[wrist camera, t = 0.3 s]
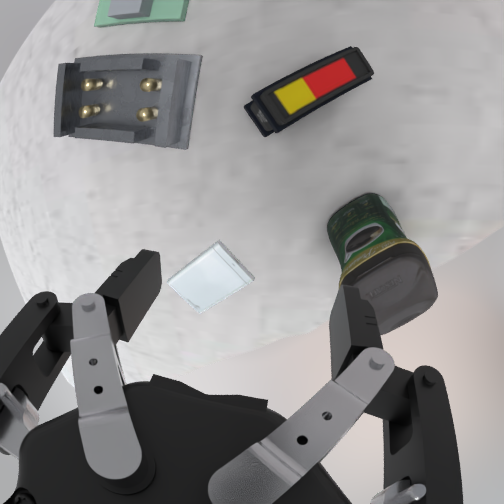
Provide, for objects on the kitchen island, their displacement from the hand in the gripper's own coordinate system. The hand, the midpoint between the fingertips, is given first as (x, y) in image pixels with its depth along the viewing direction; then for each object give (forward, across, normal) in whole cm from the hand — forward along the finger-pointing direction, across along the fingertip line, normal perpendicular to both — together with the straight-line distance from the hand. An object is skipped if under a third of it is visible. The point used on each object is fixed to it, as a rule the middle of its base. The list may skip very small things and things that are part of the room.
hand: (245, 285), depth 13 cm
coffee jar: (+28, -12, +7) cm, 32 cm away
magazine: (+29, -1, -8) cm, 30 cm away
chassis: (+28, +23, -7) cm, 37 cm away
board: (+29, +22, -21) cm, 42 cm away
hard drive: (+29, +9, +21) cm, 37 cm away
